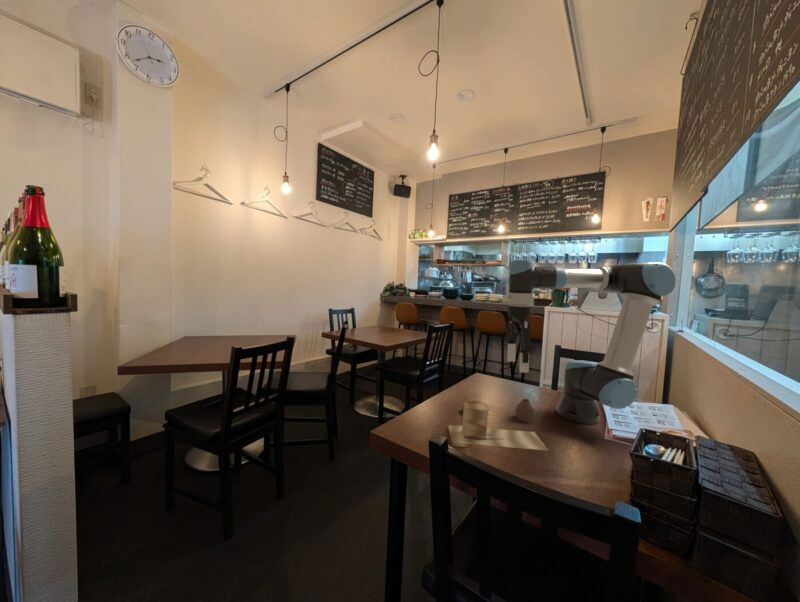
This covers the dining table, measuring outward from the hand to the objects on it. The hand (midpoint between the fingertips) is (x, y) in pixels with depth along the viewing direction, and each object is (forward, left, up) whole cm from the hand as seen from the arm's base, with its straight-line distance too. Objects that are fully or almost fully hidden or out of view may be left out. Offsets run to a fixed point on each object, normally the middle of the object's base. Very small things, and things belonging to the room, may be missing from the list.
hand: (517, 366), depth 107 cm
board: (+7, +6, -24) cm, 26 cm away
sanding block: (+14, +6, -23) cm, 28 cm away
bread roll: (+11, -13, -25) cm, 30 cm away
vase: (-8, -11, -25) cm, 28 cm away
